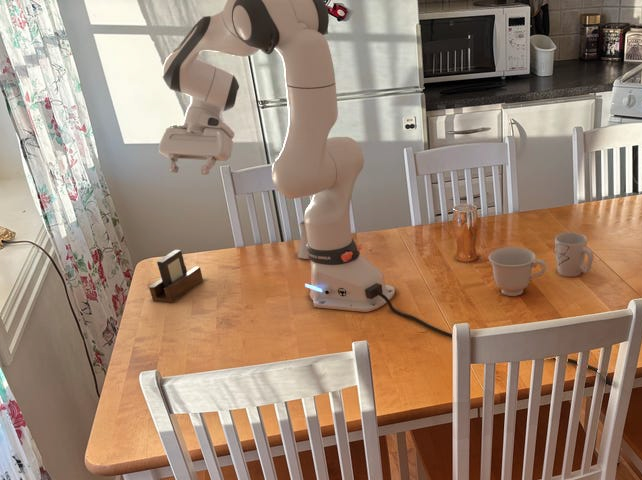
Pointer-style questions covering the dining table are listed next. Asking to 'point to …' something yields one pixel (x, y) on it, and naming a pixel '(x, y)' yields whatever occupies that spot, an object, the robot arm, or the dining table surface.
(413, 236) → the dining table surface
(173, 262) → the frame
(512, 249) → the teacup
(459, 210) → the beer glass
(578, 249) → the mug
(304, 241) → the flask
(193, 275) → the holder
